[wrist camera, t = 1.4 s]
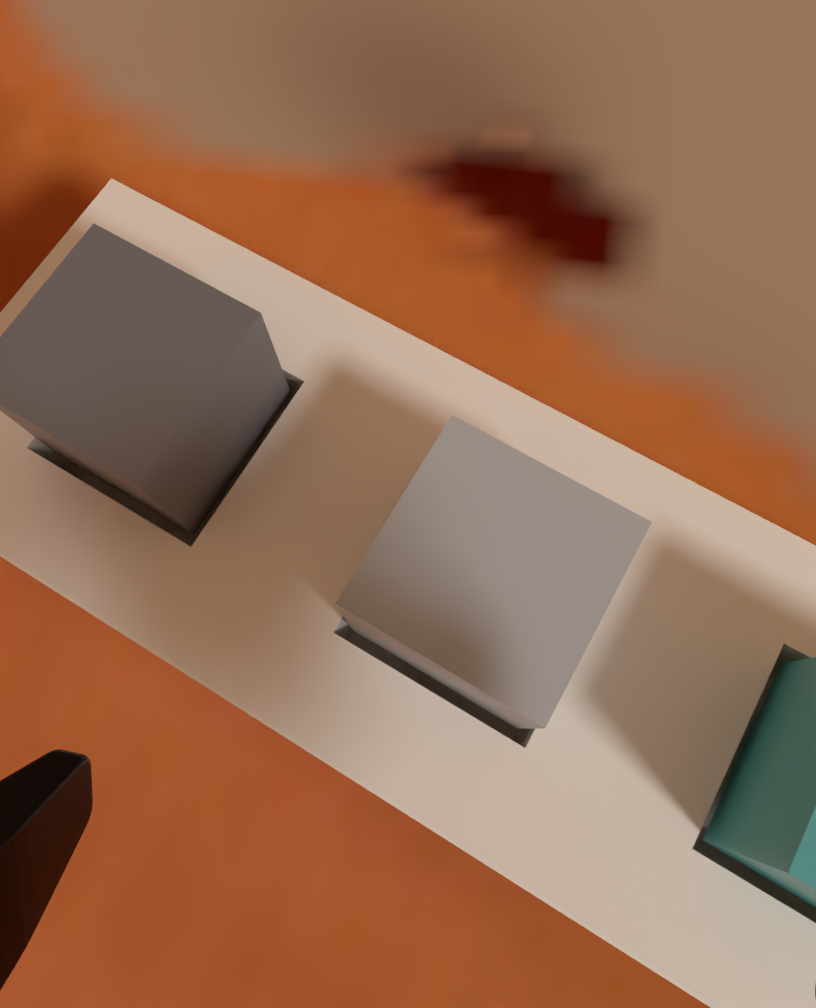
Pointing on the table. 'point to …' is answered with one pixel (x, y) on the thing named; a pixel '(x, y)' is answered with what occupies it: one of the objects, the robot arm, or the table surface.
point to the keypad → (411, 693)
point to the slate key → (492, 574)
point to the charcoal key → (142, 376)
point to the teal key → (776, 788)
